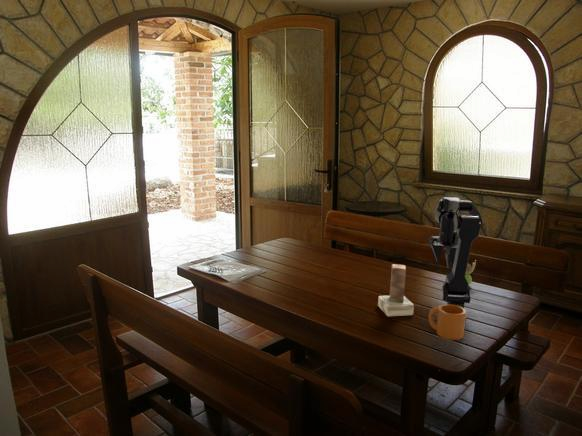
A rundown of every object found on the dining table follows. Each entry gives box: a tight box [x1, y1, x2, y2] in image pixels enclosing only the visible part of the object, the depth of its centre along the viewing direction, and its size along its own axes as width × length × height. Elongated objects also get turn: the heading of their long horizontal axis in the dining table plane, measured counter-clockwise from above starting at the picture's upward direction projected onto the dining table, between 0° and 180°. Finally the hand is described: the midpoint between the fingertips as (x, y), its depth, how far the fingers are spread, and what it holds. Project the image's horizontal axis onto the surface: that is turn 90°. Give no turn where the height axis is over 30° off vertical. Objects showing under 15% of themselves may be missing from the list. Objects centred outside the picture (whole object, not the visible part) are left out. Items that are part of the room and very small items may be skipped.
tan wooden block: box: [389, 263, 407, 303], centre depth 177 cm, size 5×5×13 cm
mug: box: [427, 303, 467, 341], centre depth 162 cm, size 9×12×9 cm
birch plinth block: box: [377, 295, 415, 317], centre depth 179 cm, size 10×10×4 cm
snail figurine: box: [465, 259, 477, 286], centre depth 207 cm, size 5×6×12 cm
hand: (443, 265), depth 193 cm, fingers open, 9 cm apart
